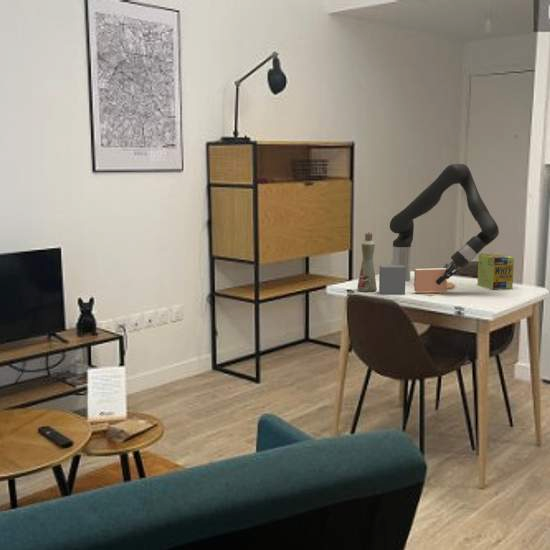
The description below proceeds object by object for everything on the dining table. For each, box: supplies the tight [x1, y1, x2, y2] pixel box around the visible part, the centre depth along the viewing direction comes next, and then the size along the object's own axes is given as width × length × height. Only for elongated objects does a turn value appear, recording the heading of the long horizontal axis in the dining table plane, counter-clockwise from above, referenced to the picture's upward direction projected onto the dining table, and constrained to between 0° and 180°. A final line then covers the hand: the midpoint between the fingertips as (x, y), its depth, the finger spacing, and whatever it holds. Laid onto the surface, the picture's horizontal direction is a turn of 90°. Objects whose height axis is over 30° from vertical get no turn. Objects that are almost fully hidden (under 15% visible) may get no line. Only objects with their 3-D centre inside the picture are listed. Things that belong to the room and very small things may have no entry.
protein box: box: [477, 253, 515, 291], centre depth 326 cm, size 10×15×16 cm
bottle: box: [357, 231, 378, 293], centre depth 316 cm, size 9×9×28 cm
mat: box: [414, 291, 446, 297], centre depth 311 cm, size 10×10×1 cm
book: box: [413, 267, 448, 292], centre depth 310 cm, size 14×4×10 cm, turn 89°
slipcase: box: [378, 264, 406, 296], centre depth 310 cm, size 11×6×13 cm, turn 89°
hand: (436, 282), depth 310 cm, fingers closed on book, 3 cm apart
